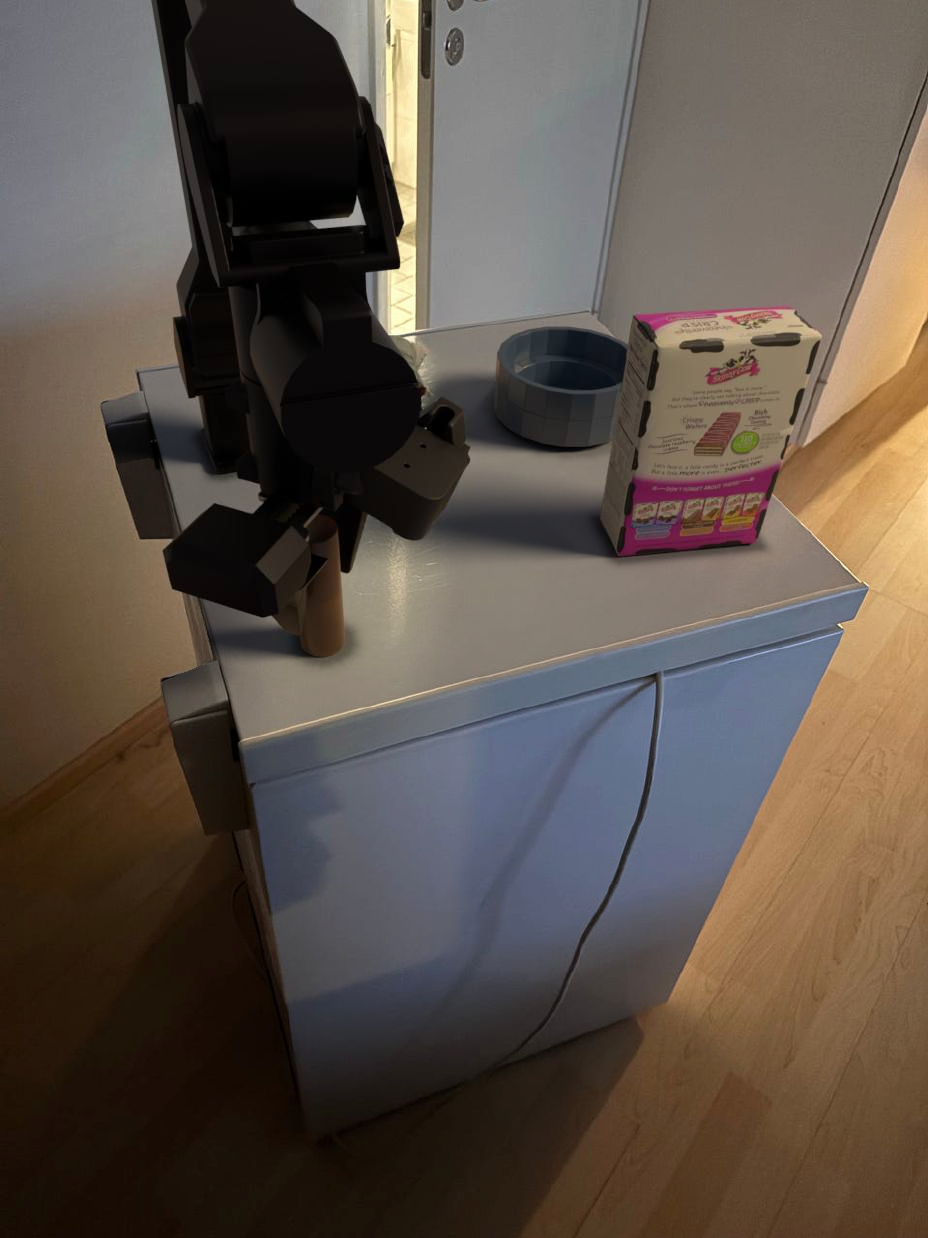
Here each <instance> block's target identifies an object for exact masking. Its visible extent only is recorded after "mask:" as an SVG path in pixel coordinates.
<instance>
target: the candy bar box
mask: <svg viewBox="0 0 928 1238" xmlns="http://www.w3.org/2000/svg"><path fill="white" fill-rule="evenodd" d="M629 331H630V332H629V338H628V343H627V344H628V349H627V355H626V362H625V368H624V374H623V380H622V387H621V392H620V398H619V404H618V413H617V418H616V423H615V429H614V434H613V440H611V448H610V455H609V460H608V466H607V473H606V478H605V483H604V484H605V485H604V492H603V495H602V496H603V497H602V503H601V509H600V516H599V520H600V522H601V526H602V528H603V530H604V531H605V533H606V534H607V536H608V538H609V541H610V543H611V544H612V547H613V549H614V551H615V553H616V554H617V556H618V557H628V556H629V557H630V556H639V555H648V554H649V555H650V554H659V553H669V552H678V551H679V552H680V551H689V550H697V549H706V548H707V549H708V548H715V547H726V546H735V545H745V544H755V543H757V542H758V540H759V537H760V533H761V531H762V527H763V524H764V522H765V518H766V515H767V511H768V509H769V505H770V502H771V498H772V496H773V493H774V490H775V486H776V483H777V480H778V476H779V473H780V470H781V468H782V464H783V462H784V458H785V454H786V450H787V447H788V444H789V441H790V438H791V435H792V433H793V430H794V426H795V423H796V420H797V417H798V414H799V410H800V407H801V404H802V401H803V399H804V395H805V391H806V388H807V385H808V382H809V379H810V377H811V376H810V375H811V373H812V370H813V368H814V367H813V366H814V363H815V360H816V357H817V354H818V351H819V348H820V344H821V340H822V338H823V335H822V334H821V333H820V332H819V331H818V330H817V329H816V328H815V327H814V326H812V325H811V324H810V323H808V321H807V320H806V319H805V318H803V316H802V315H798V310H796V309H795V308H793V307H791V306H789V305H779V306H765V307H764V306H761V307H760V306H759V307H742V308H723V309H707V310H691V311H690V310H689V311H688V310H687V311H676V312H675V311H673V312H671V311H670V312H669V311H668V312H658V313H657V312H656V313H655V312H654V313H637V314H636V313H635V314H633V315H632V320H631V324H630V330H629Z"/></svg>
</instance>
